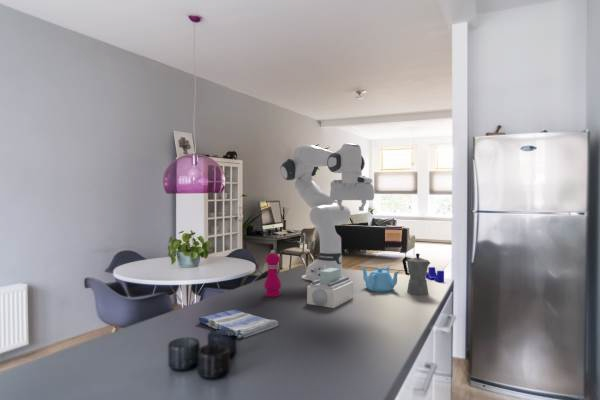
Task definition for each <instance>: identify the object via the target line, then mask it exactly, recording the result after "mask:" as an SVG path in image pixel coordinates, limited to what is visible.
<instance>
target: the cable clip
mask: <svg viewBox="0 0 600 400" xmlns="http://www.w3.org/2000/svg"><path fill="white" fill-rule="evenodd" d="M427 279H428V280H430V281H435V282H437V283H444V282H445V270H436V267H435V266H428V269H427V275H426V280H427Z"/></svg>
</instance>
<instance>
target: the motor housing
mask: <svg viewBox="0 0 600 400" xmlns="http://www.w3.org/2000/svg"><path fill="white" fill-rule="evenodd" d="M306 287H307V289H306V301H307V302H306V303H307V305H313V306H319V307H326V308H332V309H335V308H337V307H339V306H340V305H342V304H344V303H346V302H348V301H349V300H352V299H354V282H353V281H351V279H350V278H349V276H344V278H340V279H339V280H336V281H334V282H331V283H329V284H321V283H320V279H318V280H316V281H311V283H310V284H309V285H308V286H306Z"/></svg>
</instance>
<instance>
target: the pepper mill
mask: <svg viewBox="0 0 600 400" xmlns="http://www.w3.org/2000/svg"><path fill="white" fill-rule="evenodd" d="M265 262H266V263H267V265H266V268H267V277H266V279H265V281H264V288H265V296H266V297H268V298H276V297H280V296H281V291H280V289H281V287H282V283H281V280H280V278H279V276H278V269H279V262H280V256H279V254H277V253H276V252H275V250H274V249H272V250H270V253H268V254H267V255H266V257H265Z"/></svg>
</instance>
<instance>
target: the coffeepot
mask: <svg viewBox="0 0 600 400" xmlns="http://www.w3.org/2000/svg"><path fill="white" fill-rule="evenodd" d="M401 261H402V262H401V263H402V265H403V270H404V274H405V275H406V276H409V280H408V284H407V290H406V292H407V293H408V294H410V295H415V296H427V295H428V294H429V288H428V283H427V278H426V275H427V273H428V267H429V265H430V264H431V262H430V261H429V260H427V259H425V258H421V257H420V253H418V252H417V253H416V254H415V257H410V256H409V257H408V256H404V258H403V259H402V260H401Z"/></svg>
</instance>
